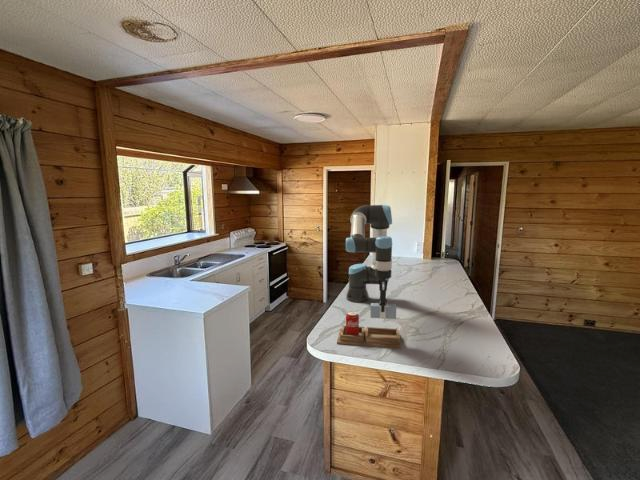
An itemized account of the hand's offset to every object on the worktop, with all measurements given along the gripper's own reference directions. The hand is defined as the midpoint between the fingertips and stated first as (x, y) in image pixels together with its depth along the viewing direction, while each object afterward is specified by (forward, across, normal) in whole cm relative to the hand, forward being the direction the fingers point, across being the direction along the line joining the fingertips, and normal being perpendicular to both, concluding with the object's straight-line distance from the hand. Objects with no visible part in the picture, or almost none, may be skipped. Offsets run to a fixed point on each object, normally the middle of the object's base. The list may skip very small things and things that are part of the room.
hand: (382, 315), depth 152 cm
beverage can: (+12, 0, -15) cm, 19 cm away
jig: (+13, 0, -6) cm, 14 cm away
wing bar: (+1, 0, 0) cm, 1 cm away
